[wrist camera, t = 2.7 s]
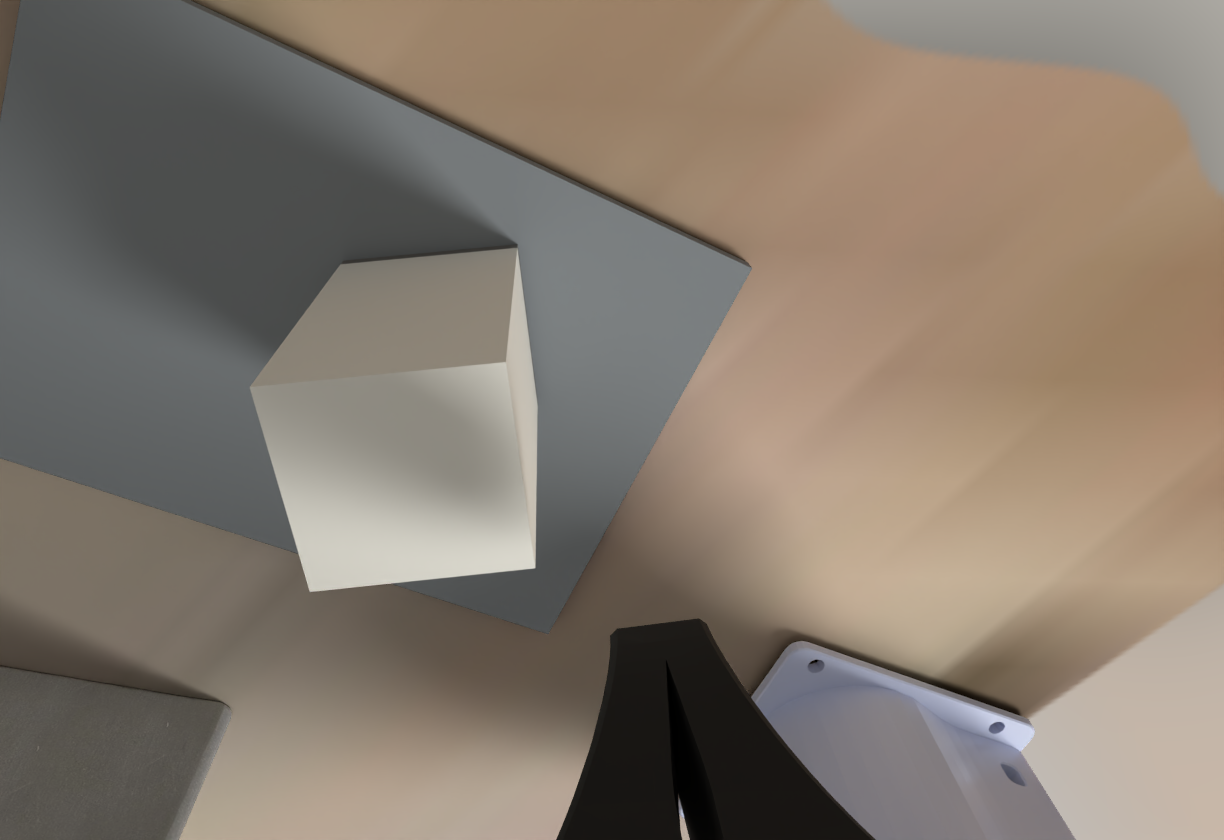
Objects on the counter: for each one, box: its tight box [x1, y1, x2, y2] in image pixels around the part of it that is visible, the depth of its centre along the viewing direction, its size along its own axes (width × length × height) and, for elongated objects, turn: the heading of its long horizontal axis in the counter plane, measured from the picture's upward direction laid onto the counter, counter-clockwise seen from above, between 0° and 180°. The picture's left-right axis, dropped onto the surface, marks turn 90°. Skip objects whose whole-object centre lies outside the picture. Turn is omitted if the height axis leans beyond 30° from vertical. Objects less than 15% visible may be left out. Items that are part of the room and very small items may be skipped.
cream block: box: [250, 244, 538, 592], centre depth 17 cm, size 4×4×7 cm
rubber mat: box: [0, 0, 752, 634], centre depth 21 cm, size 16×12×1 cm
